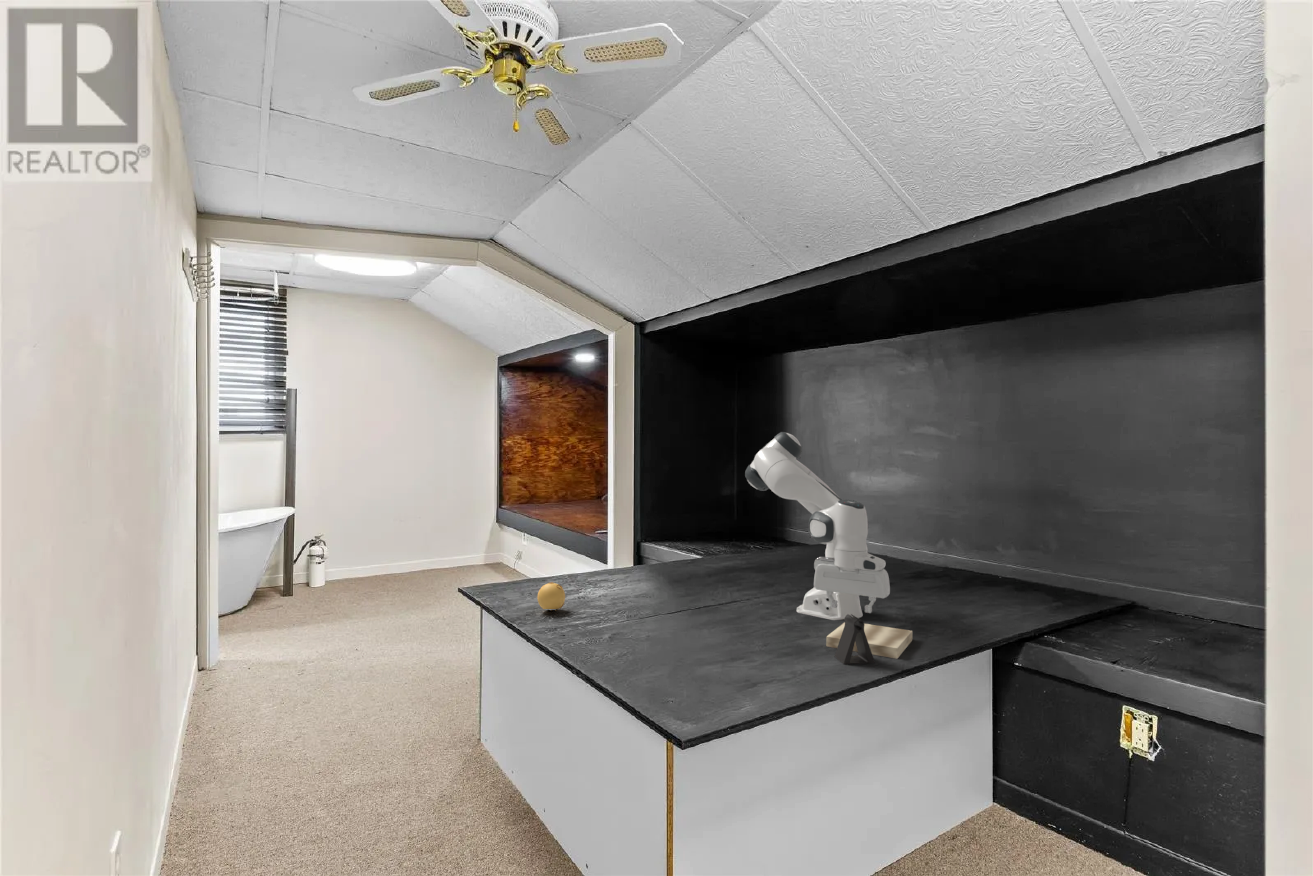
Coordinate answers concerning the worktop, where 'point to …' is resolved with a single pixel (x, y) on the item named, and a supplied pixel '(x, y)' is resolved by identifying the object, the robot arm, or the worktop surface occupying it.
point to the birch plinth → (877, 639)
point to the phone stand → (848, 638)
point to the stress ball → (551, 596)
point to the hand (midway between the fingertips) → (850, 609)
